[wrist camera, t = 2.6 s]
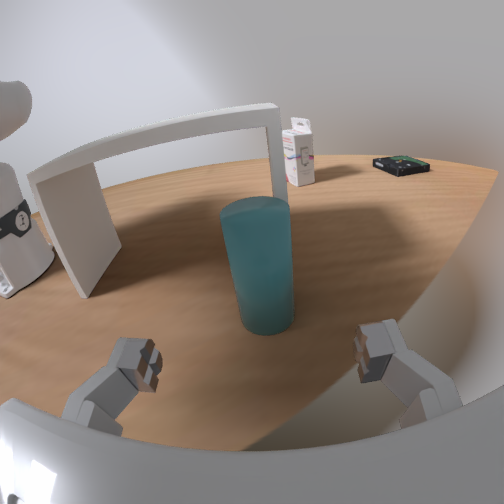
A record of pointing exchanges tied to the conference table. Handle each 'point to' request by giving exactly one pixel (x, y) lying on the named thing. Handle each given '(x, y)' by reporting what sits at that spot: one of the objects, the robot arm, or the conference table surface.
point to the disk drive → (401, 165)
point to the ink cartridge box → (299, 153)
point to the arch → (91, 197)
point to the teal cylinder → (261, 262)
